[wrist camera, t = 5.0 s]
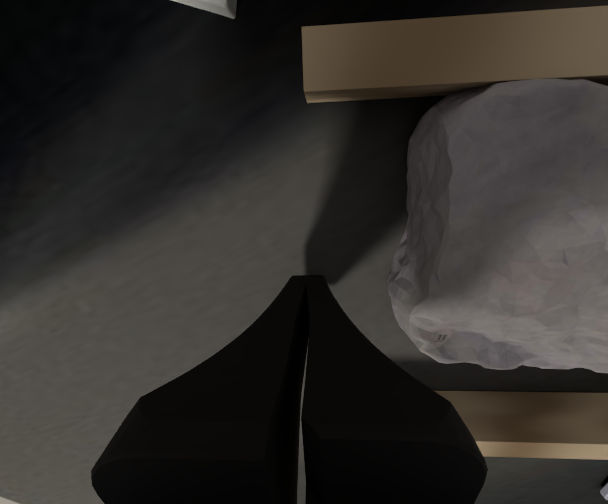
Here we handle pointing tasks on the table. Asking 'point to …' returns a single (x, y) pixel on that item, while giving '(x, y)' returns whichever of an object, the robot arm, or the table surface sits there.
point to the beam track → (454, 79)
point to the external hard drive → (214, 6)
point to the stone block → (508, 228)
